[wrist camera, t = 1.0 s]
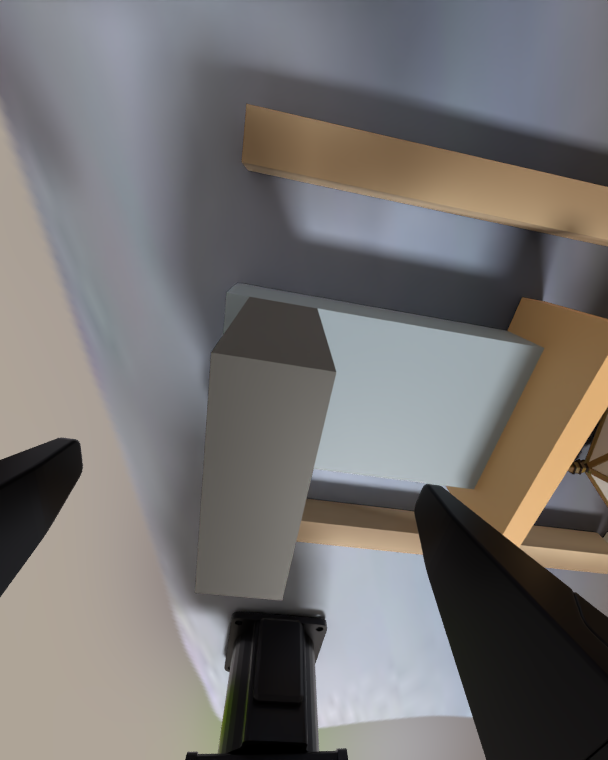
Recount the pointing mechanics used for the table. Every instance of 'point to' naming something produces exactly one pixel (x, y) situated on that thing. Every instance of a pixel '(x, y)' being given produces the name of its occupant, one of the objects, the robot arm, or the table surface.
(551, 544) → the rails
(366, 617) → the table surface
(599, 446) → the game die
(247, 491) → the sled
